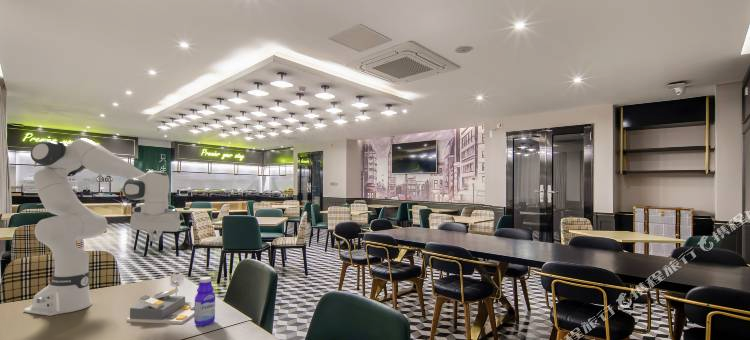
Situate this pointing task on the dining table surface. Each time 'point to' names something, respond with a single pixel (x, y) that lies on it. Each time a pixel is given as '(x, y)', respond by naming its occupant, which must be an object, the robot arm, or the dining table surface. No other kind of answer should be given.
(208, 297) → the bottle
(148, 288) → the dining table surface
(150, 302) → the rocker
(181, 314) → the switch unit
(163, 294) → the rocker
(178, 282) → the wineglass
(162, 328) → the dining table surface
